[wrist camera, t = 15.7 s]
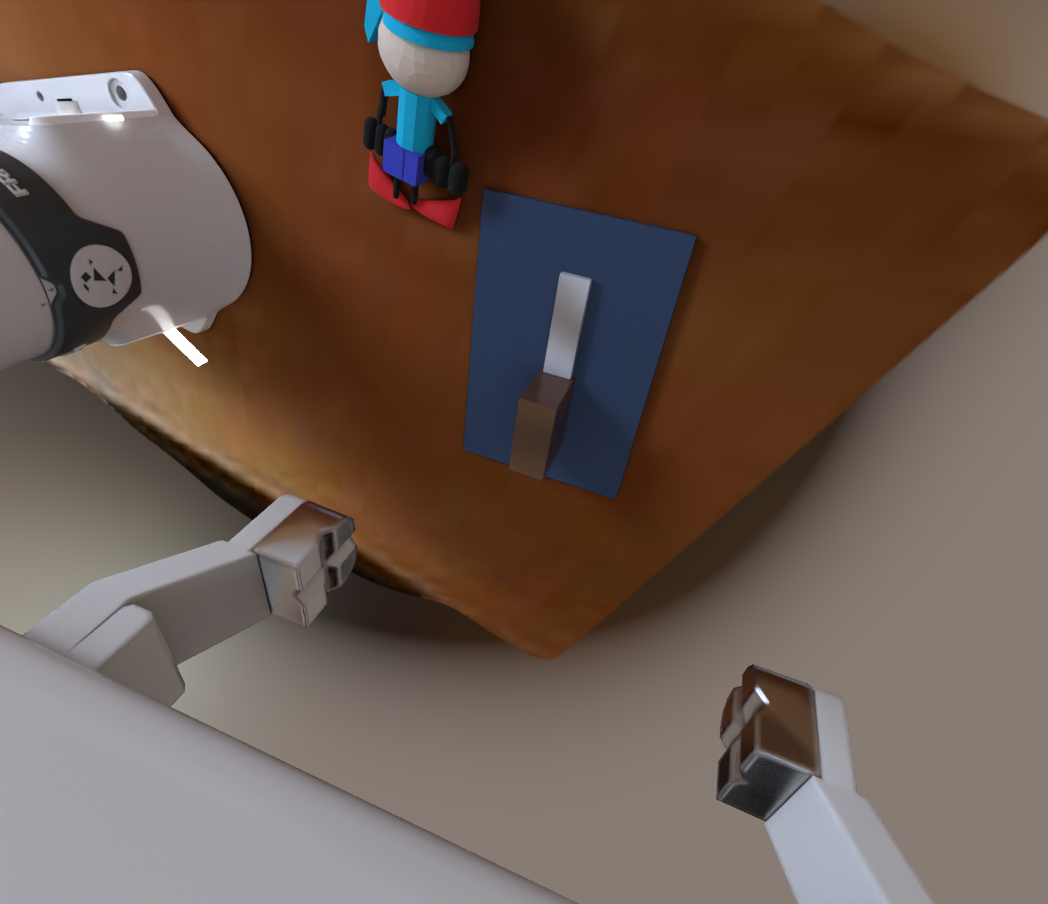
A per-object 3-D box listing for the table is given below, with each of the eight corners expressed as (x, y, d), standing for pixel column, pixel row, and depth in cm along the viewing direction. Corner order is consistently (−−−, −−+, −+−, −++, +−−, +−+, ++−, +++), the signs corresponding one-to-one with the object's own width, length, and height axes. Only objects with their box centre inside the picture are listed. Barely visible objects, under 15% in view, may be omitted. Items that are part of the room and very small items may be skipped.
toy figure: (476, 224, 37) (536, -76, 25) (435, 252, 33) (482, -77, 22) (382, 174, 38) (400, -136, 26) (334, 197, 34) (330, -146, 23)
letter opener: (561, 446, 42) (542, 481, 38) (529, 436, 42) (508, 470, 39) (597, 279, 34) (578, 304, 30) (557, 269, 35) (534, 292, 31)
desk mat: (464, 447, 46) (462, 449, 45) (485, 187, 34) (483, 188, 33) (616, 496, 43) (615, 499, 43) (697, 235, 31) (696, 236, 31)
